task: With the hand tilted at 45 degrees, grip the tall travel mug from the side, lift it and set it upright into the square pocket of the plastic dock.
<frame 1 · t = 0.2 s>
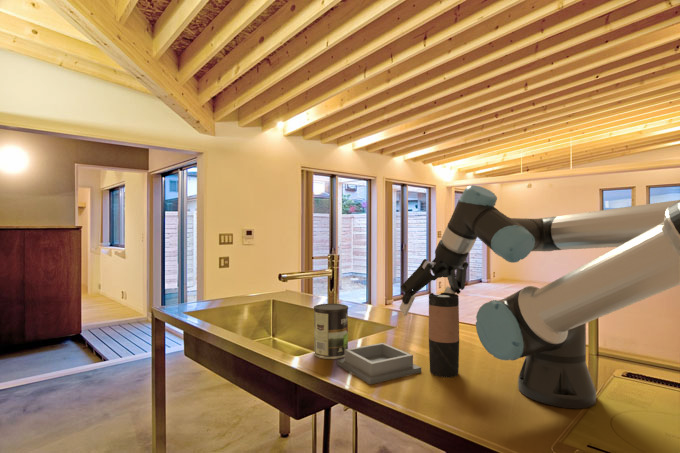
hand: (422, 309, 104), 15 cm above the worktop, tool tilted 35°, fingers open, 13 cm apart
coffee can: (331, 354, 113), on the worktop
dock: (377, 368, 101), on the worktop
travel mug: (444, 373, 98), on the worktop
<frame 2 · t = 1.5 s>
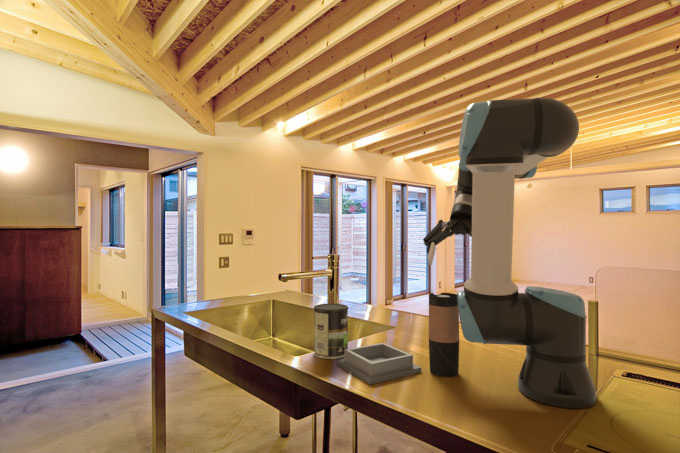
hand: (453, 262, 108), 28 cm above the worktop, tool tilted 45°, fingers open, 13 cm apart
nothing on the worktop moved.
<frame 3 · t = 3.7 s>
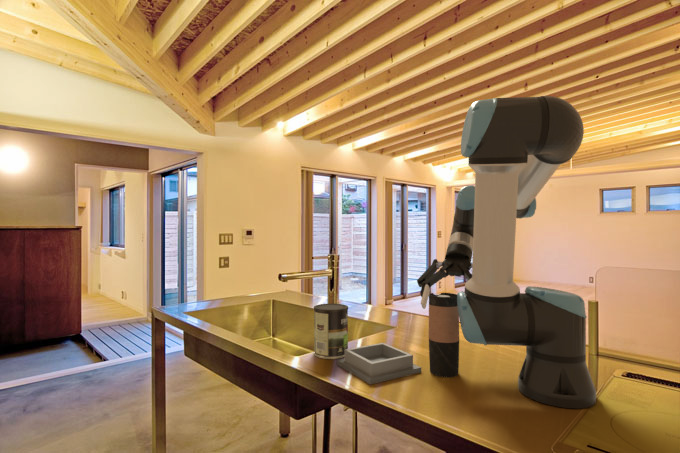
hand: (447, 308, 104), 15 cm above the worktop, tool tilted 45°, fingers open, 13 cm apart
nothing on the worktop moved.
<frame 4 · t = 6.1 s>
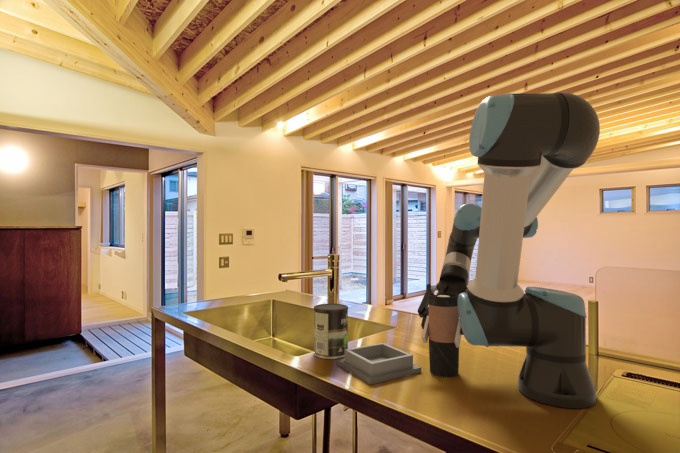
hand: (440, 342, 95), 9 cm above the worktop, tool tilted 45°, fingers closed on travel mug, 7 cm apart
travel mug: (444, 373, 98), on the worktop, touching gripper
everything else where it was.
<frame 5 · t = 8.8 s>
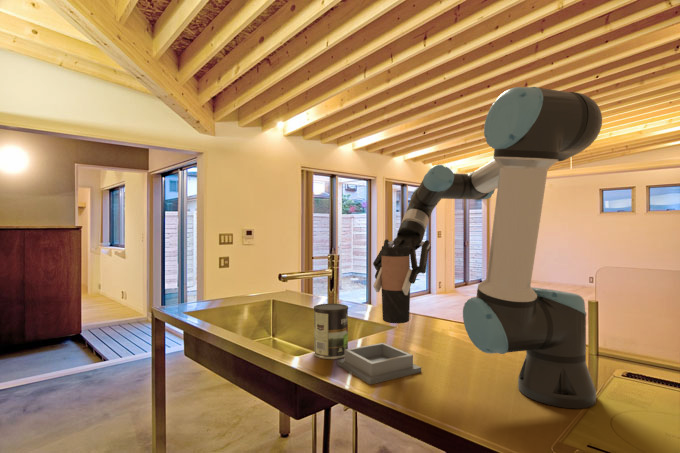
hand: (390, 290, 100), 21 cm above the worktop, tool tilted 45°, fingers closed on travel mug, 7 cm apart
travel mug: (395, 320, 103), point 12 cm above the worktop, touching gripper
everything else where it was.
when the fingers open (11 cm above the worktop, at t = 11.8 s): travel mug drops 1 cm, resting on dock.
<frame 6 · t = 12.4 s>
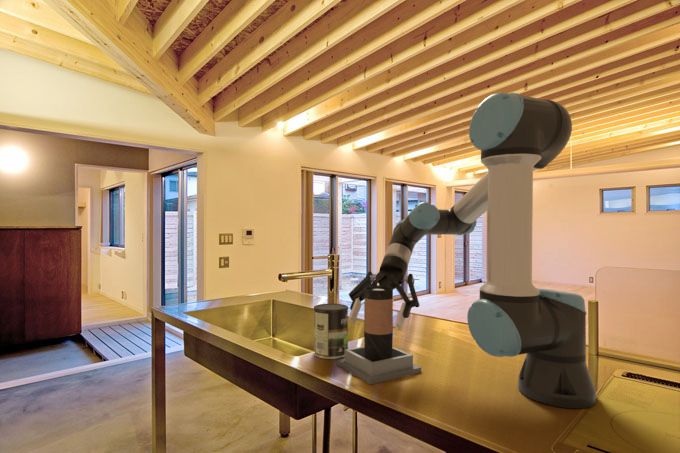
hand: (374, 324, 99), 12 cm above the worktop, tool tilted 45°, fingers open, 13 cm apart
travel mug: (378, 364, 101), point 1 cm above the worktop, touching dock
everything else where it was.
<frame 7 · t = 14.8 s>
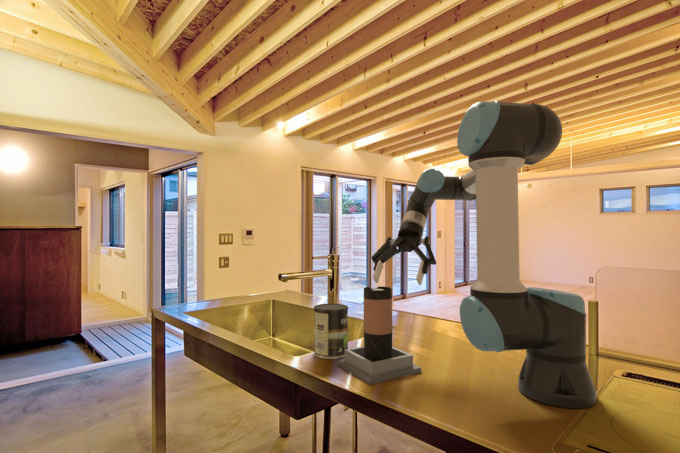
hand: (396, 281, 111), 22 cm above the worktop, tool tilted 45°, fingers open, 13 cm apart
nothing on the worktop moved.
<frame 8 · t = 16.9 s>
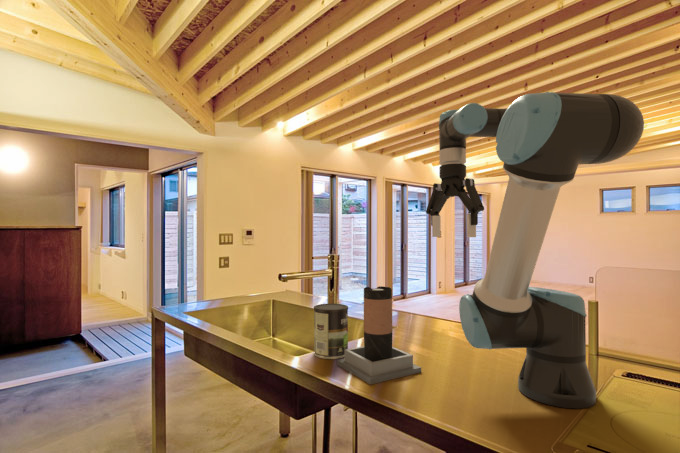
hand: (453, 237, 112), 35 cm above the worktop, tool pointing down, fingers open, 13 cm apart
nothing on the worktop moved.
at the end: travel mug 0.1 cm off-centre on the dock, point 1.0 cm above the dock's base; travel mug tilted 0°; the gripper is holding nothing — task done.
